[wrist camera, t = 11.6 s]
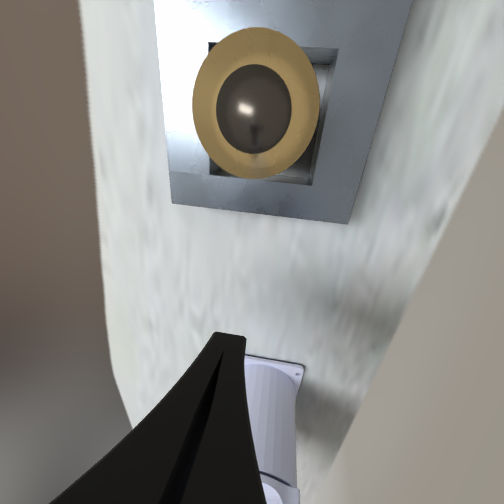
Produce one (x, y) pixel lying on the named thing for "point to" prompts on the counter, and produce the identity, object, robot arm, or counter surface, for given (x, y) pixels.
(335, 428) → the counter surface
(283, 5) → the plate
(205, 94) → the bushing
